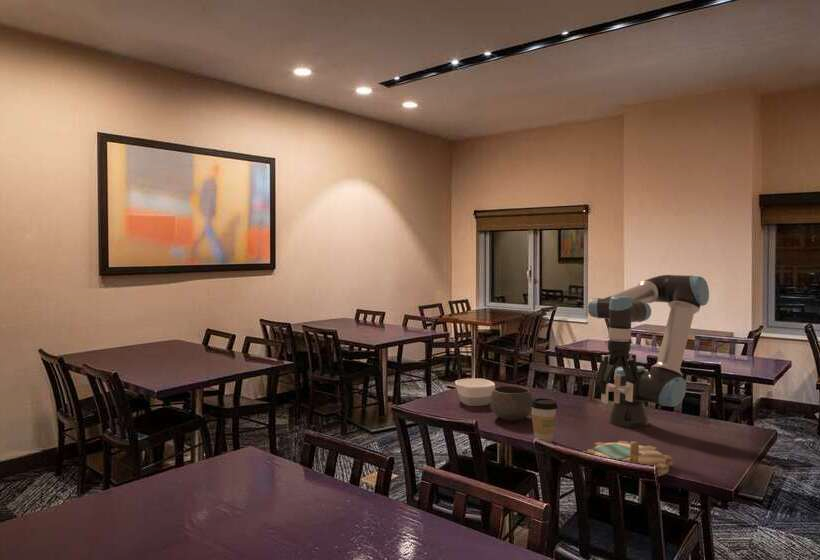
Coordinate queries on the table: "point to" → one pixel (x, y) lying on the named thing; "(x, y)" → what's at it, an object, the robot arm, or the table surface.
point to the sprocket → (633, 454)
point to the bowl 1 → (474, 391)
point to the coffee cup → (543, 417)
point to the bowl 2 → (511, 402)
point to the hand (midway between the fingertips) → (616, 401)
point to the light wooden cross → (618, 388)
